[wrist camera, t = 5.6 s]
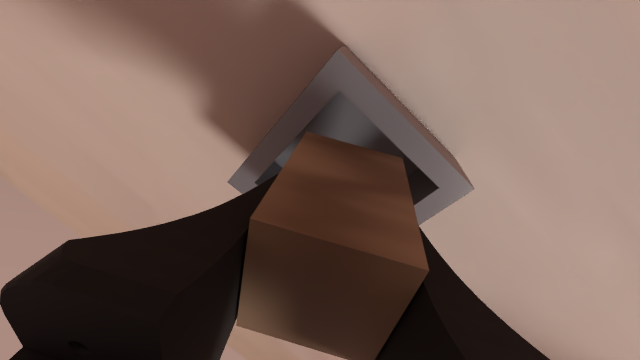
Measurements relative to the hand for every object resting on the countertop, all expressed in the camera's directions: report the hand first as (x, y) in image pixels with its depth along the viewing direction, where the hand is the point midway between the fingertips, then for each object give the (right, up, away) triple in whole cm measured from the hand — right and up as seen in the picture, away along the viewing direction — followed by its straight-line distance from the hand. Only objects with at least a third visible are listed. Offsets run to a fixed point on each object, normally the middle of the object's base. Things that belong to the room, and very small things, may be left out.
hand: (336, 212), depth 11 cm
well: (+1, +3, +5) cm, 5 cm away
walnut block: (0, +1, +1) cm, 2 cm away
